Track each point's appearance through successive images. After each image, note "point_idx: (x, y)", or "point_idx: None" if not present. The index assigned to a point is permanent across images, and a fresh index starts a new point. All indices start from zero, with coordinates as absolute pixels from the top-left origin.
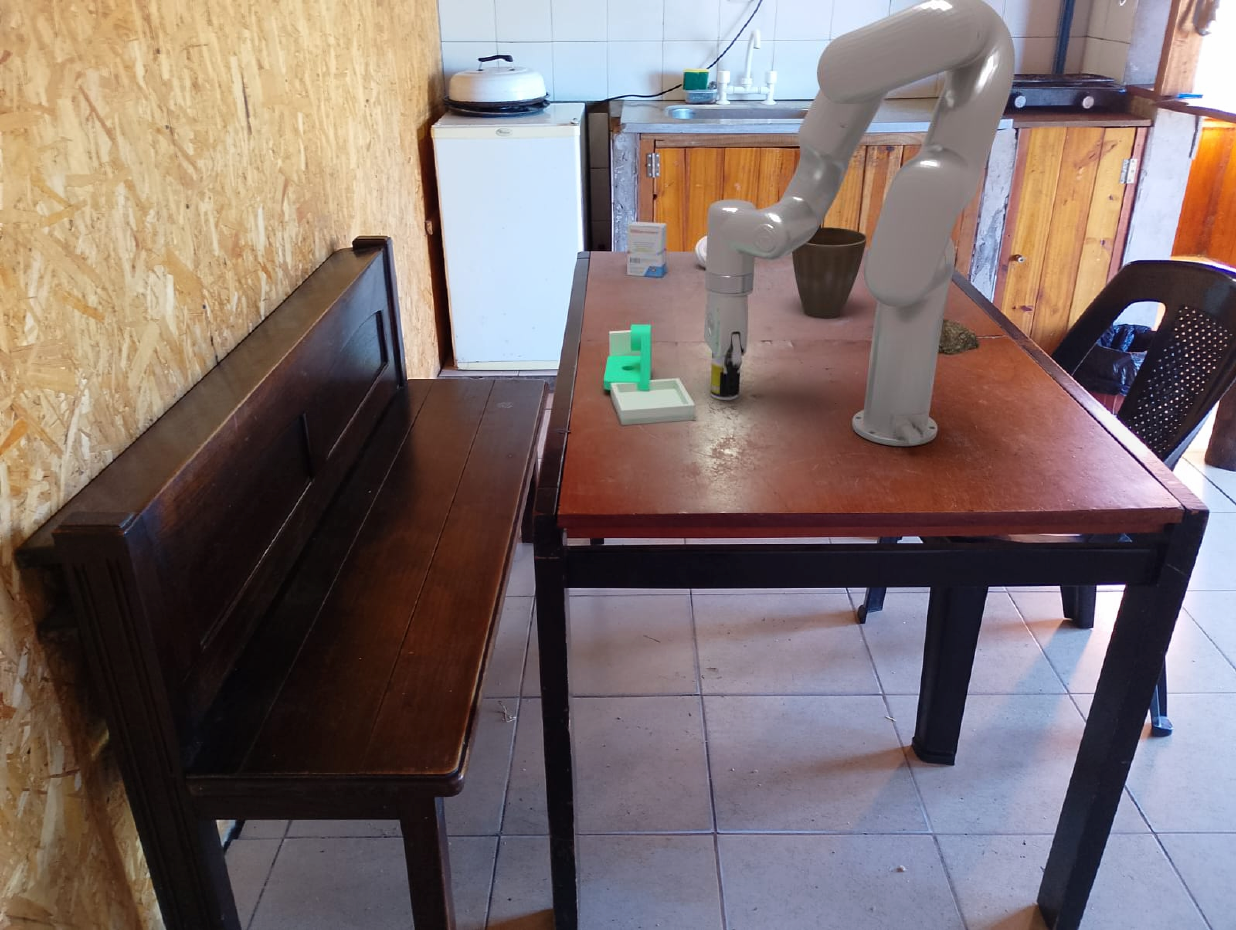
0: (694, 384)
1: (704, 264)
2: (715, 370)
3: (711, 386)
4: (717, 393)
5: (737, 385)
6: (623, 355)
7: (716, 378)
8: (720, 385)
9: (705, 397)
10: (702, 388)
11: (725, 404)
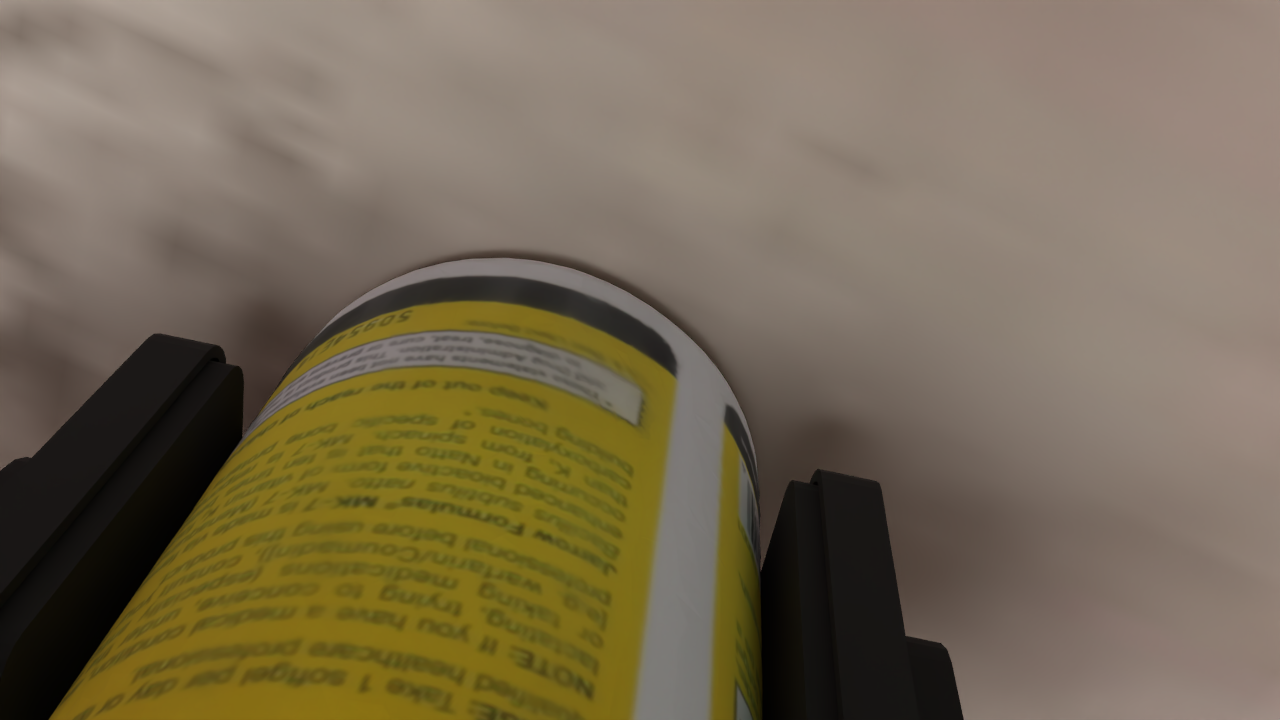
0: (1236, 237)
1: None
2: (207, 630)
3: (492, 344)
4: (326, 338)
5: None
6: None
7: (251, 503)
8: (57, 438)
9: (552, 148)
10: (974, 285)
11: (163, 319)
